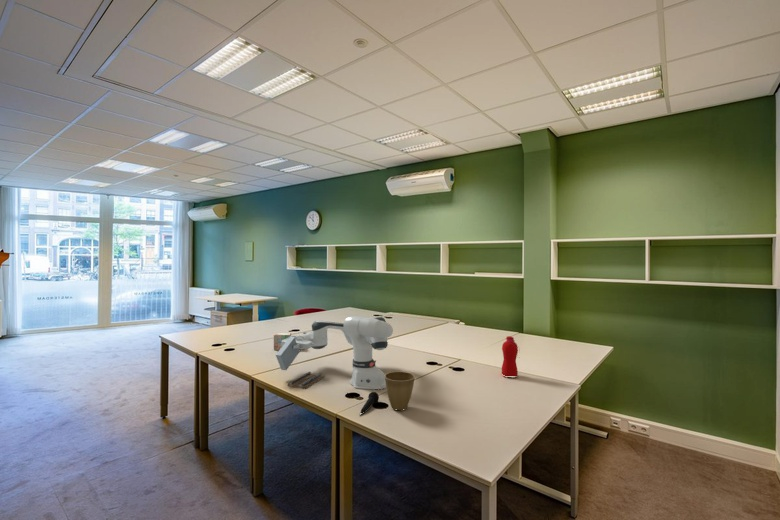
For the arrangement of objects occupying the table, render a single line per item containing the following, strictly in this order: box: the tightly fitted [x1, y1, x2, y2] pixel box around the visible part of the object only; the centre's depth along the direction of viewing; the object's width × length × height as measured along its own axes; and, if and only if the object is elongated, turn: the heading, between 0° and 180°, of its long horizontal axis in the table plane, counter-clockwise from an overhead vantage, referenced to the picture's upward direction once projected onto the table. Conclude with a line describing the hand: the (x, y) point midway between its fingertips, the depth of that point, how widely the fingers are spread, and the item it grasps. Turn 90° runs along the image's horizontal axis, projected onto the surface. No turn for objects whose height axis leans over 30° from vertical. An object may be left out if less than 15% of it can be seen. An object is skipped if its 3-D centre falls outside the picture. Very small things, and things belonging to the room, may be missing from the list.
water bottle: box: [501, 336, 519, 377], centre depth 230 cm, size 9×11×25 cm
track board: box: [287, 371, 325, 389], centre depth 217 cm, size 12×20×2 cm, turn 160°
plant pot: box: [384, 371, 415, 411], centre depth 181 cm, size 15×15×16 cm
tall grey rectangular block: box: [275, 337, 300, 371], centre depth 224 cm, size 4×16×12 cm, turn 160°
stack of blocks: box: [273, 332, 302, 351], centre depth 288 cm, size 21×6×12 cm, turn 91°
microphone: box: [360, 391, 380, 414], centre depth 181 cm, size 6×6×20 cm
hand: (289, 346), depth 226 cm, fingers closed on tall grey rectangular block, 3 cm apart
